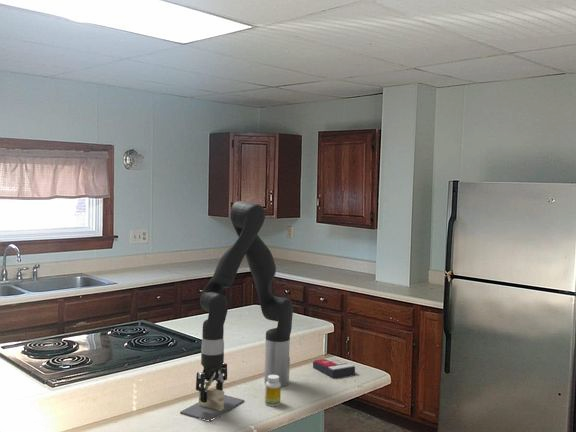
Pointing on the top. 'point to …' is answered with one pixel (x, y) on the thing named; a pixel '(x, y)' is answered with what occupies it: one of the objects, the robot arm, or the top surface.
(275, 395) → the supplement bottle
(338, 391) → the top surface
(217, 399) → the wooden block
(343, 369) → the red and black box
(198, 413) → the mat
